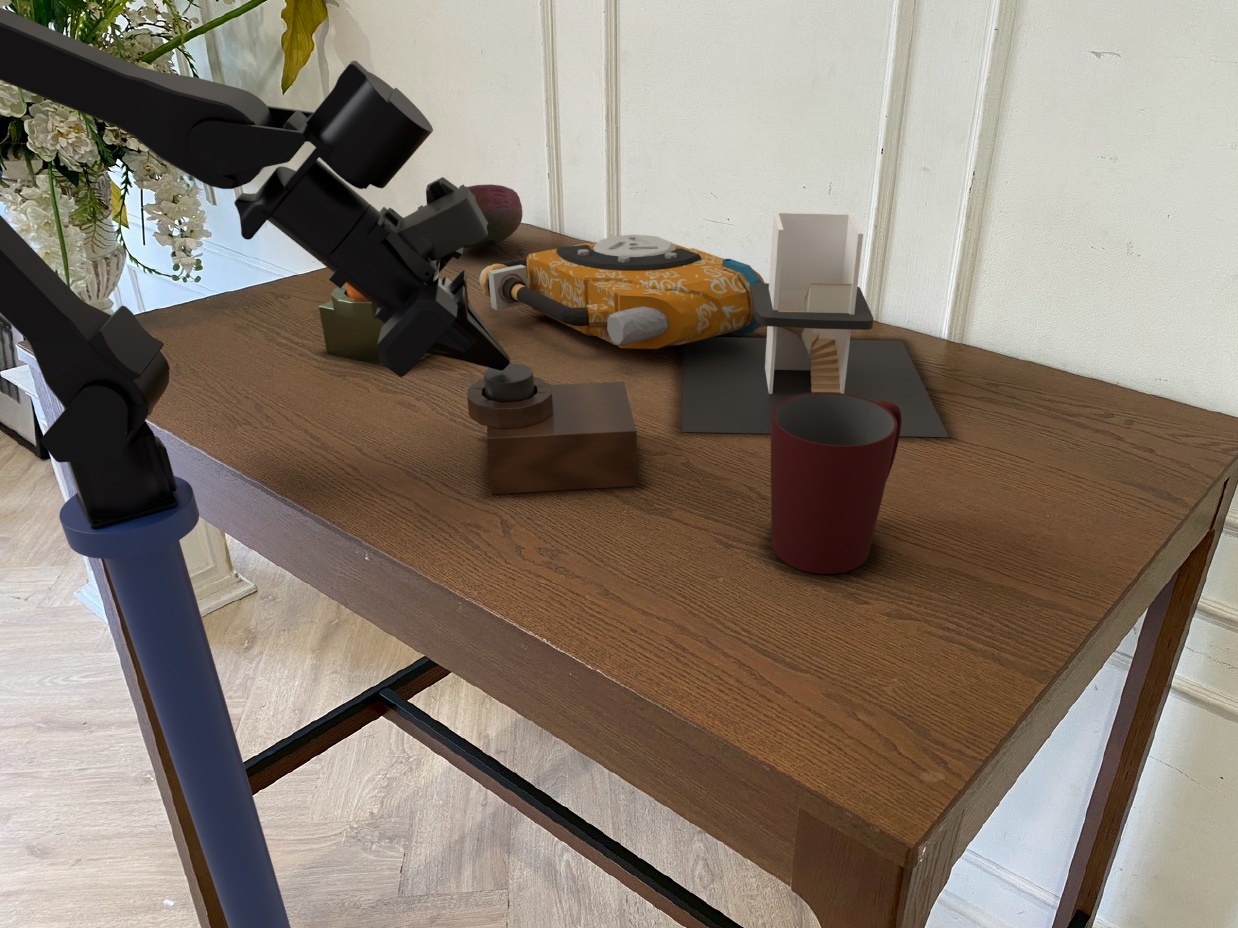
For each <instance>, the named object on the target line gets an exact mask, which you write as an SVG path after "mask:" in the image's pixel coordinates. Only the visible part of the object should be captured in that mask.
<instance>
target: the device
mask: <svg viewBox="0 0 1238 928" xmlns="http://www.w3.org/2000/svg"><path fill="white" fill-rule="evenodd" d="M478 281H479V286H480V287H481V289H482V291H483V294H484V295H485V296H486V297H487V298H488V299H490V307H491V308H492V309H494V310H495V311H500V310H501V311H502V310H504V309H509V308H513V307H517V306H521V305H527V306H528V307H530V308H532V309H533V310H535V311H537V312H539V313H541V314H542V315H544V316H547V317H549V318H551V319H553V320H555V321H557V322H559V323H562V324H563V325H565V326H568V327H570V328H571V329H574V330H576V331H578V332H580V333H582V334H584V335H586V336H589V337H592V336H593V337H594V336H595V337H598V338H599V339H602V340H604V341H606V342H608V343H610V344H612V345H614V346H616V347H617V346H618V347H619V348H620V349H642V350H643V349H644V350H645V349H647V350H649V349H650V350H656V349H657V350H658V349H660V348H664V347H667V346H681V345H683V344H685V343H689V342H693V341H698V340H702V339H706V338H710V337H719V336H721V335H726V334H729V333H732V334H734V335H737V336H738V337H739V336H743V335H748V334H752V333H754V332H755V331H756V330H757V329H759V328H760V327H761V326H762V325H760V324H759V323H758V322H757V321H756V320H755V316H754V310H753V303H752V297H751V285H752V284H755V283H766V282H765V280H764V278H763V276H762V275H761V273H759V272H758V271H756V270H755V269H754V268H753V267H751V265H750V264H747V263H743V262H741V261H738V260H736V259H732V258H723V257H720V256H716V255H715V254H711V253H709V252H705V251H702V250H700V249H697V248H694V247H691V248H688V247H685V246H682V245H679V244H676V243H673V242H672V241H671V240H667V239H665V238H662V237H660V236H657V235H645V234H624V235H623V234H622V235H613V236H609V237H606V238H603V239H600V240H599V241H598V242H595V243H594V242H593V243H590V242H585V243H579V244H574V245H568V246H560V247H558V248H554V249H548V250H542V251H537V252H532V253H528V255H527V257H525V259H514V260H513V259H512V260H508V261H507V260H506V261H502V262H496V263H492V264H490V265H487V266H485V267H484V268H483V269H482V270H481V273H480V274H479V279H478Z"/></svg>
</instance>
